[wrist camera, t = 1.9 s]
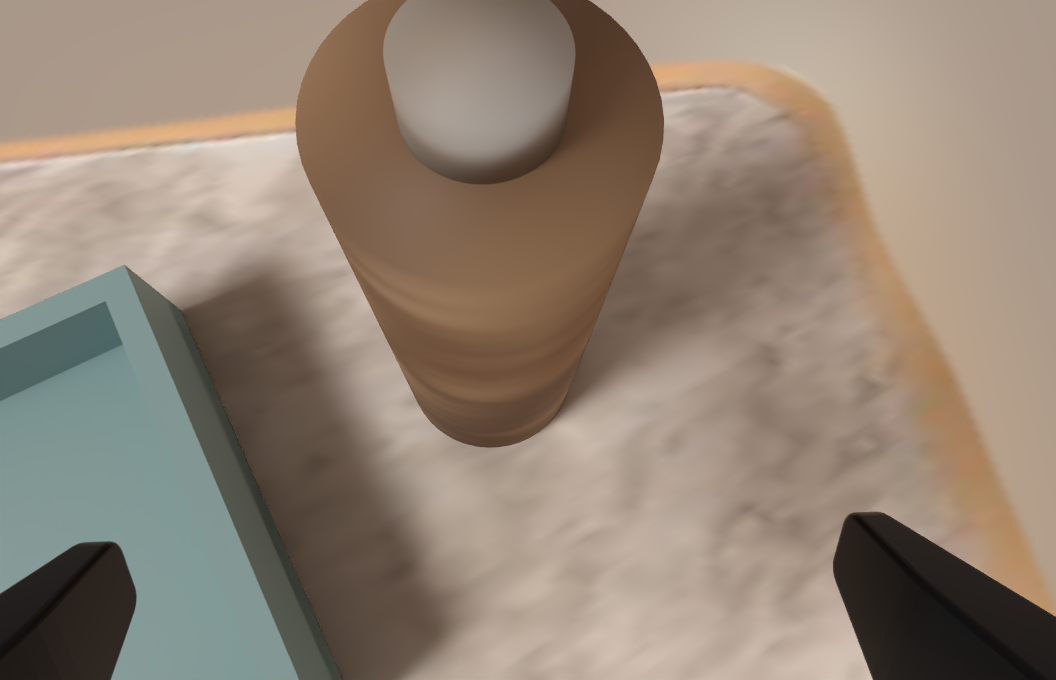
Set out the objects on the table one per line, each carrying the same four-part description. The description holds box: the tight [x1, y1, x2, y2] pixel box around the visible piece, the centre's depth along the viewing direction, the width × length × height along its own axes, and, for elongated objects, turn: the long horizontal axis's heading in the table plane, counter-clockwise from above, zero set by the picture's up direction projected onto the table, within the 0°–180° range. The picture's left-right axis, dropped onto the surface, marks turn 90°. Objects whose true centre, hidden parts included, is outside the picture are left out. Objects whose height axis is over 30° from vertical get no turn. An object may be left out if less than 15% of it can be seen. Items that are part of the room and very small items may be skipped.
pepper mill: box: [295, 0, 664, 447], centre depth 15 cm, size 5×5×14 cm
